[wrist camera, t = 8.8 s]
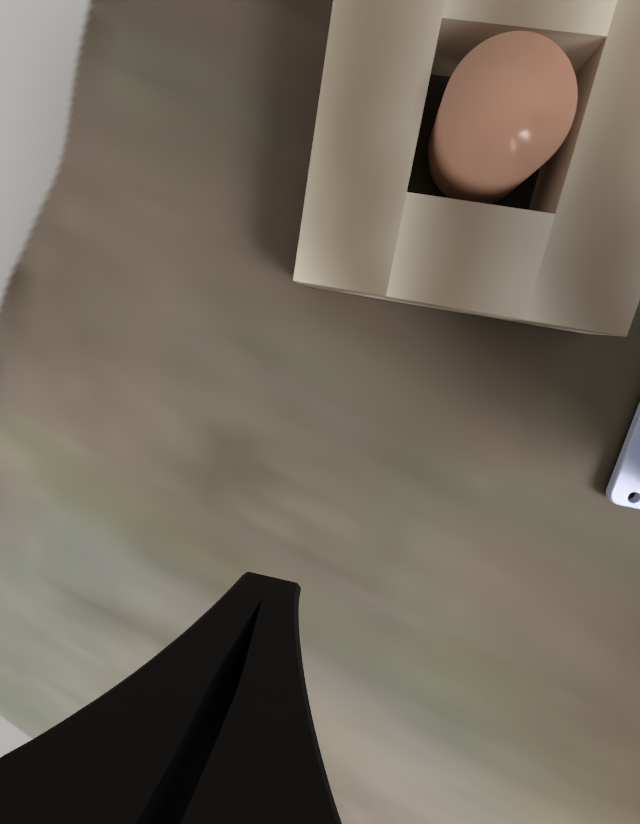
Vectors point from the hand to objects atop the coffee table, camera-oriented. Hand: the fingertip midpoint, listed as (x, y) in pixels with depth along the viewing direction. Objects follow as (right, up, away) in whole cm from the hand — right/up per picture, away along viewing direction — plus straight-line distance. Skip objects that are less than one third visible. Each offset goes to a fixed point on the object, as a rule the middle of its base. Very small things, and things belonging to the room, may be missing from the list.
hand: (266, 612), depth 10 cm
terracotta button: (+7, +15, +6) cm, 17 cm away
